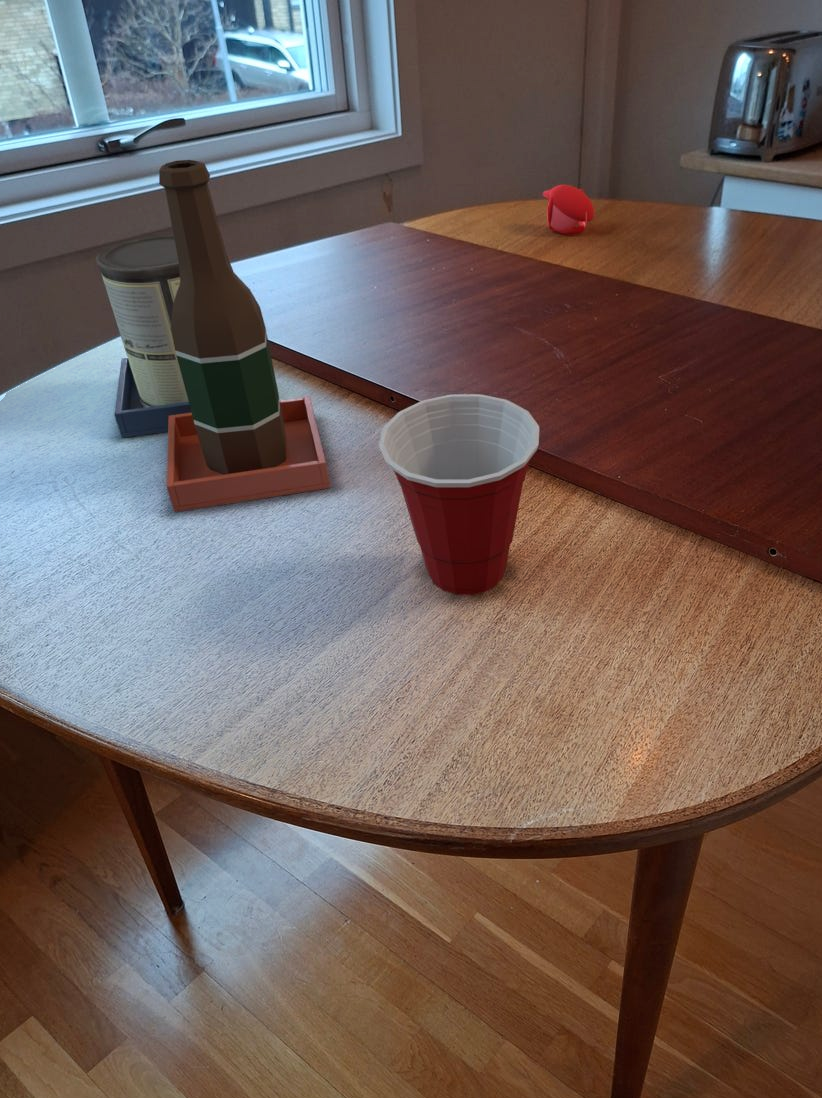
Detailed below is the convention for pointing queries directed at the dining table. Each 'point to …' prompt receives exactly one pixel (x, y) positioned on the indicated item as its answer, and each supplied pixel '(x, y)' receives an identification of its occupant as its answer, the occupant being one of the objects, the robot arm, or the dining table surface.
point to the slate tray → (140, 408)
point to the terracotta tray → (208, 488)
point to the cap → (568, 209)
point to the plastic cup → (462, 482)
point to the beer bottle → (220, 336)
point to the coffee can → (146, 312)
